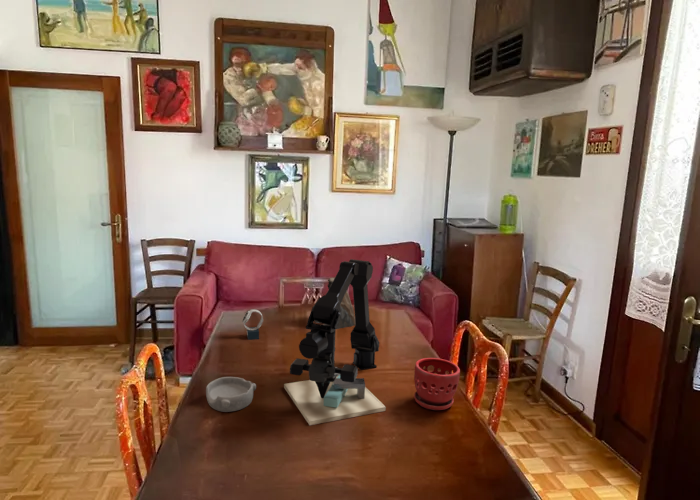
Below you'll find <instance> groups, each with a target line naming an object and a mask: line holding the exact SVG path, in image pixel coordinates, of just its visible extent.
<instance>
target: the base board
mask: <svg viewBox="0 0 700 500" xmlns="http://www.w3.org/2000/svg"><path fill="white" fill-rule="evenodd" d="M337 377H338V375H337ZM337 377H336V378H337ZM332 385H333V382H330V384H329V386H328V389H327V392H328V390H329V389H330V388H331V386H332ZM283 388H284V390H285V391H286V392H287V394H288V395H289V397H290V399H291V401H292V402H293V404H294V405H295V406H296V408H297V409H298V410H299V412H300V413H301V415H302V417H303V418H304V419H305V421H306V423H308V426H314V425H319V424H325V423H329V422H334V421H340V420H345V419H350V418H354V417H360V416H366V415H370V414H377V413H381V412H386V410H387V409H386V408H387V407H386V405H384V404H383V402H382V401H380V400H379V399H378V398H377V397H376V396H375V395H374V394H373V393H372V392H371V391H370V390H369V389H368V388H367V387H366V386H365V398H364V399H358V397H357V389H348V390H347V392H346V394H345V395H344V397H343V399H342V400H341V402H340V404H339V406H338V407H337V408H335V407H329V406H324V398H321V396H320V393H319V390H318V387H317V385H316V383H315V381H311V380H310V379H308V380H303V381H302V380H301V381H295V382H289V383H287V382H286V383H284V384H283ZM327 392H326V393H327ZM325 395H326V394H325Z"/></svg>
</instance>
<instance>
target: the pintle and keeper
mask: <svg viewBox="0 0 700 500" xmlns="http://www.w3.org/2000/svg"><path fill="white" fill-rule="evenodd" d="M333 386H334V389H357V397H358V399H364V398H365V387H366V381H365V378H363V377H362V378H361V377H360V378H359V377H358V378H357V377H356V379H355V381H354V382H345V381H342V380H341V379H340V378H336V379H335V381H334V382H333Z"/></svg>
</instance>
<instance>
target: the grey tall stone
mask: <svg viewBox="0 0 700 500" xmlns="http://www.w3.org/2000/svg"><path fill="white" fill-rule="evenodd" d="M334 278H335V277H330V278H328V280H327V282H328V284H327V287H328V288H327V289H328V290H329V288H330V286H331V284H332V282H333V280H334ZM340 306H341V311H342V312H341V318H340V320H339V323H338V327H337V328H336V329H335V330H340V329H344V328H350V327H353V326H354V327H355V311H354V306H353V305H352V301H351V298H350V294H349V292H348V290H347V291H346V293H345V296H344V298H343V300H342V302H341V304H340Z"/></svg>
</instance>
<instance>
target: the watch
mask: <svg viewBox="0 0 700 500" xmlns="http://www.w3.org/2000/svg"><path fill="white" fill-rule="evenodd" d="M252 313H258V314H259V315H260V320H259V322H258V323H257V326H253V327H252V326H251V327H250V326H247V325H246V323H247V322H248V321H249V319H250V318H251V316H252ZM241 321H242V323H243V326H244V328H245V329H246V337H247V341H248V340H249V341H250V340H253V341H254V340H260V330H259V329H260V327H261V326H262V325H263V323H264V316H263V314H262V312H261V311H260V310H258V309H253V308H252V309H249V310H247V311H246V312H245V314H244V316H242V320H241Z"/></svg>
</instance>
